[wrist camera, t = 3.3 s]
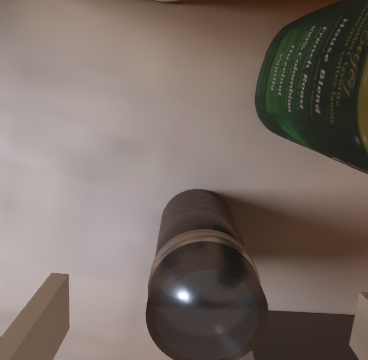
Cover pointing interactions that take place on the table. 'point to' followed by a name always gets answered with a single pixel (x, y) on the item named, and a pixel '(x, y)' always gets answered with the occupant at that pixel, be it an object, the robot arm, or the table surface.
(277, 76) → the coffee jar
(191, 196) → the dark grey peg
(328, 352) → the camera body
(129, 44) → the table surface
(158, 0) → the storage basket
